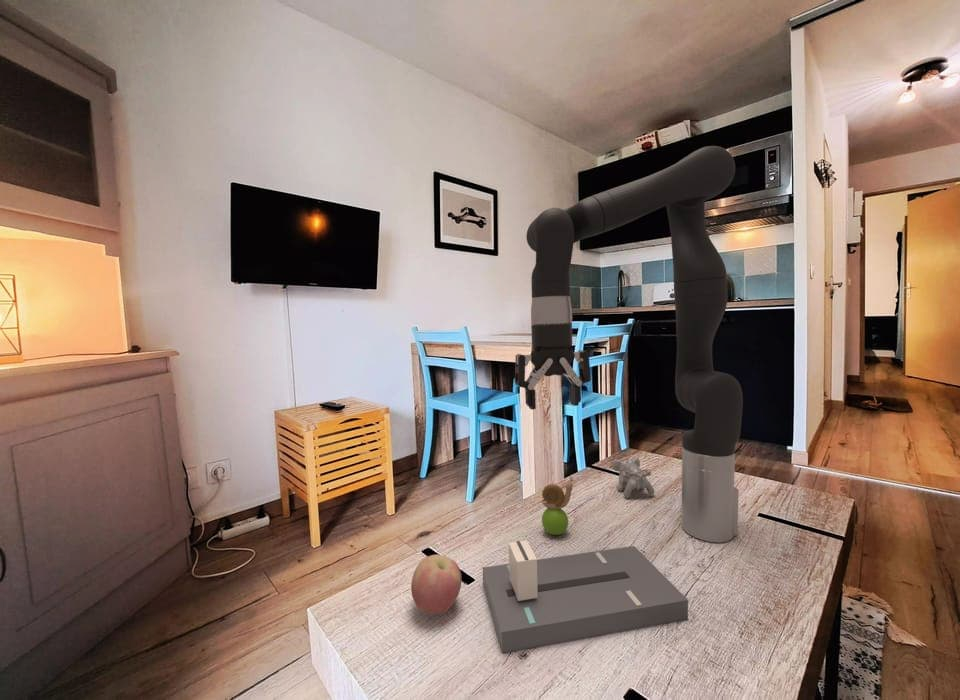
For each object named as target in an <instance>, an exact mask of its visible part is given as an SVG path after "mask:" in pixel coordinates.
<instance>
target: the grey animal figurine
mask: <svg viewBox="0 0 960 700" xmlns="http://www.w3.org/2000/svg"><path fill="white" fill-rule="evenodd" d="M640 466H641V461H640V459H639V458H637V457H636V458H633V459H629V458H628V459H623V460H620V459H619V460H618V459H615V460H614V461H613V462H612V464H611V467H612V470H613V471H615V472H618V473H619V475H618V485H617V486H616V489H617V490H618V491H619V492H623V496H624V498H626V499H629V498H630V497H631V494H632V492H633V491H634V490H637V492H639V491H640V490H644V489H645V490H646V492H647V494H648V495H649V496H651V497H652V496H654V495H655V487H653V485H652V484H651V482H650V481H649V480H648V478H647V477H649V476H651V475H652V472H651V471H650V469H649V468H645V469H641V468H640Z"/></svg>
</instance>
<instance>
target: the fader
mask: <svg viewBox="0 0 960 700" xmlns="http://www.w3.org/2000/svg"><path fill="white" fill-rule="evenodd" d="M537 560H538V559H537V557H536V555H535V553H534V551H533V549H532V547H531V545H530V543H529V542H528V540H517V541H512V542H508V564H509V577H510V581H511V584H512V586H513V589H514V592H515V594H516V597H517V599H518V601H521V600H527V599H533V598H538V589H537Z"/></svg>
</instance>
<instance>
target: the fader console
mask: <svg viewBox="0 0 960 700" xmlns="http://www.w3.org/2000/svg"><path fill="white" fill-rule="evenodd" d="M482 584H483V585H482V586H483V589H484V593H485V595H486V600H487V604H488V606H489V610H490V611H489V612H490V614H491V618H492V621H493V626H494V628H495V631H496V632H495V633H496V635H497V639H498V643H499V647H500V651H501V653H502V654H506V653H511V652H516V651H522V650H527V649H533V648H537V647H544V646H549V645H554V644H561V643H565V642H571V641H575V640H576V641H577V640H582V639H588V638H592V637H598V636H603V635H610V634H614V633H615V634H616V633H621V632H626V631H631V630H637V629H641V628H642V629H643V628H648V627H653V626H659V625H663V624H670V623H675V622H680V621H686V620H689V618H688V617H689V599H688V598H687V597H686V596H685V595H684V594H683V593H682V592H681V591H680V590H679V589H678V588H677V587H676V586H675V585H674V584H673V583H672V581H670V580H669V579H668V578H667V577H666V575H664V574H663V573H662V572H661V571H660V570H659V569H658V568H657V567H656V566H655V565H654V563H652V562H651V561H650V560H649V559H648V558H647V557H646V556H645V555H644V554H643V553H642V552H641V551H640V550H639V549H638V548H637V547H636V546H634V545H632V546H624V547H623V546H622V547H617V548H610V549H603V550H596V551H588V552H582V553H575V554H568V555H560V556H554V557H553V556H552V557H547V558H540V559H537V589H538V598H533V599H527V600H521V601H518V599H517V597H516V594H515V592H514V589H513V586H512V584H511V581H510V577H509V563H506V564H503V563H502V564H498V565H497V564H496V565H490V566H485V567H482Z"/></svg>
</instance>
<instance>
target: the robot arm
mask: <svg viewBox="0 0 960 700" xmlns="http://www.w3.org/2000/svg"><path fill="white" fill-rule="evenodd" d="M735 174H736V162H735V160H734V157H733V156H732V154H731V153H730V152H729V151H728V150H727V149H725V148H724V147H722V146H717V145H710V146H709V145H708V146H703V147H701V148H699V149H697V150H695V151H692V152H691V153H690V154H688V155H687V156H685V157H683V158H682V159H680V160H679V161H677V162H676V163H675V164H671V166H669V167H666V168H664V169H662V170H660V171H657V172H654V173H652V174H650V175H648V176H645V177H641V178H638V179H636V180H633V181H631V182H627V183H625V184H622V185H621V184H620V185H619V186H616V187H613V188H610V189H607V190H605V191H604V190H603V191H601V192H599V193H596V194H593V195H590V196H588V197H586V198H583V199H581V200H579V201H578V202H576V203H575V204H573V205H572V206H570V207H568V208H565V209H562V208H559V207H550V208H548V209H545V210H544V211H542V212H541V213H540V214H539V215H538V216H537V217H536V218H534V219H533V221H532V222H531V223H530V224H529V226H528V228H527V231H526V237H525V238H526V242H527V245H528V247H529V248H530V249H531V250H533V252H535V265H534V267H533V269H532V272H531V305H530V306H531V307H530V321H531V322H530V324H531V325H530V328H531V330H530V331H531V353H530V354H520V353H517V354H516V355H515V361H514V362H515V364H514V365H515V366H514V369H515V370H514V384H515V385H516V386H518V387H519V388H523V389H524V393H525V394H524V397H525V404H526V406H527V407H528V409H530V410H536V409H537V408H536V407H537V404H536V403H537V402H536V400H537V399H536V389H534V388H535V387H536V386H537V384H538V383H539V382H540V381H541V380H542V378H543V377H552V376H565V377H566V378H567V380H568V381H569V382H570V385H569V387H570V389H569V390H570V404H571V405H572V406H575V407H576V406H579V403H581V401H582V385H583V384H585V383H589V382H591V379H592V376H591V365H590V353H589V351H587V350H582V349H581V350H578V351H573V309H572V304H571V287H570V285H571V284H570V268H571V263H572V258H573V250H574V245H575V243H578V242H579V241H581V240H584V239H588V238H591V237H594V236H598V235H600V234H603V233H605V232H606V233H607V232H609V231H611V230H612V231H613V230H614V229H617V228H620V227H622V226H625V225H626V224H629V223H631V222H633V221H635V220H638V219H640V218H642V217H643V216H644V217H645V216H646V215H648V214H650V213H652V212H654V211H657V210H659V209H661V208H665V207H666V212H667V217H668V223H669V230H670V240H671V253H672V254H671V255H672V266H673V267H672V268H673V270H672V271H673V278H672V279H673V297H674V307H675V324H676V325H675V329H676V330H675V331H676V363H675V364H676V365H675V377H674V379H675V380H674V381H675V382H674V390H675V396H676V399H677V401H678V403H679V404H680V405H681V407H683V408H685V409H686V410H688V411H690V412H692V413H695V416H694V428H693V429H689V430H686V431H685V432H683V434H682V441H681V442H682V445H681V452H682V453H681V519H680V520H681V528H682V529H683V531H684V532H685V533H687V534H688V535H689V536H691V537H693V538H695V539H698V540H702V541H706V542H710V543H726V542H730V541H732V540H733V538H734V537H736V536H738V534H739V533H738V531H739V530H738V529H739V489H738V488H737V487H735V469H736V467H735V465H736V462H735V461H736V460H735V459H736V458H735V457H736V445H737V443H738V442H739V440H740V437H741V429H742V427H741V426H742V417H743V408H744V407H743V405H744V404H743V403H744V399H743V398H744V397H743V390H742V387H741V384H740V382H739V381H738V379H737V378H736V377H734V376H733V375H731V374H729V373H725V372H722V371H716V370H714V365H713V364H714V363H713V343H714V338H715V336H716V334H717V331H718V328H719V326H720V324H721V321H722V320H723V318H724V316H725V315H724V314H725V312H726V310H727V309H726V308H727V306H728V276H727V270H726V269H727V268H726V265H725V263H724V260H723V258H722V257H721V255H720V253H719V251H718V250H717V248H716V246H715V245H714V243H713V241H712V239H711V238H710V236H709V233H708V231H707V226H706V217H705V214H706V213H705V205H706V201H708V200H710V199H712V198H715V197H717V196H719V195H720V194H721V193H722V192H725V190H726V189H727V188H728V187H729V186H730V184H731V183H732V181H733V180H734V177H735ZM573 361H575V362H577V363H578V364H577V365H578V367H577V368H578V375H577V372H576V371H575V370H574V369H573V367H572V366H571V365H572V363H573ZM529 362H531V364H532V365H533V366H534V367H533V369H531V372H529V375H528V377H527V379H525V378H526V367H528V365H529Z"/></svg>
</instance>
